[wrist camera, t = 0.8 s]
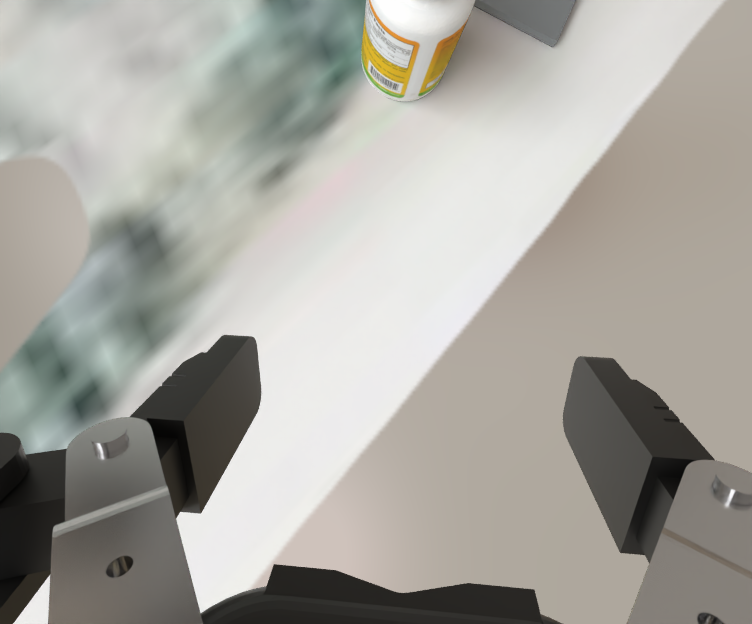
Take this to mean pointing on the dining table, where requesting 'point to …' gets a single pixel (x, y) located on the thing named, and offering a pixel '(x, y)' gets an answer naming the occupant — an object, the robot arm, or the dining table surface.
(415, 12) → the supplement bottle
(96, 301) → the dining table surface
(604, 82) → the dining table surface
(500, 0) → the mat
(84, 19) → the dining table surface
